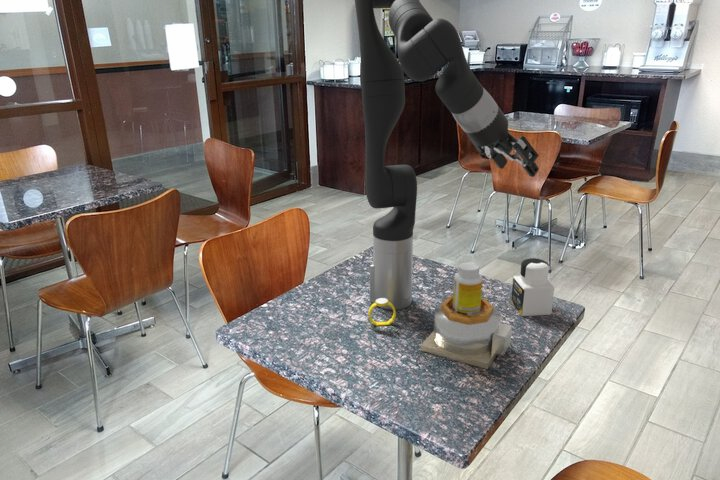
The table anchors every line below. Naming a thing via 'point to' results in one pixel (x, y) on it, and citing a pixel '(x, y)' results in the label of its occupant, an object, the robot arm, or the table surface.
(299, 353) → the table surface
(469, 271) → the supplement bottle
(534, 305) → the medicine bottle
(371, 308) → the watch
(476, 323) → the octagonal rim cylinder base
